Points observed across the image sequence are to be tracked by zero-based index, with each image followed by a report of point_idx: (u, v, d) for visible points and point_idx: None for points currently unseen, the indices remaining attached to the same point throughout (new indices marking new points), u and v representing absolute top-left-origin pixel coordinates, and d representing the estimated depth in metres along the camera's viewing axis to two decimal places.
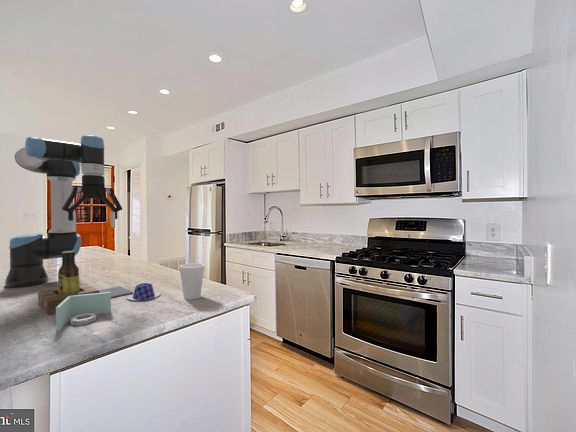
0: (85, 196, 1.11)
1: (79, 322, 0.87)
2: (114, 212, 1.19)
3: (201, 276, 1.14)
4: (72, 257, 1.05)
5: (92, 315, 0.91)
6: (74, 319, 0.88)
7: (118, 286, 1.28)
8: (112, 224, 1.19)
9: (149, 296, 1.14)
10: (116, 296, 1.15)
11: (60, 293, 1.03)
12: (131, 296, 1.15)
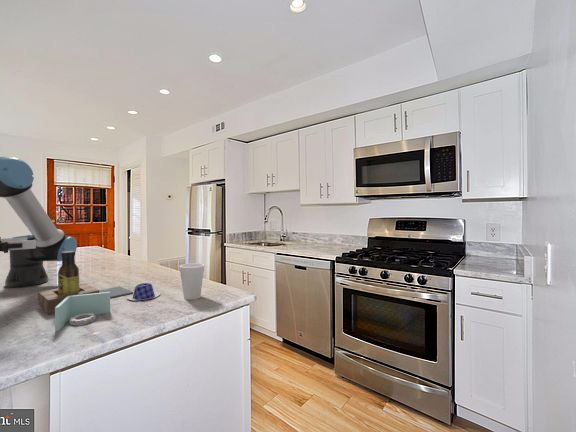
0: None
1: (78, 322, 0.88)
2: (9, 250, 0.88)
3: (201, 276, 1.14)
4: (72, 257, 1.05)
5: (91, 315, 0.92)
6: (73, 319, 0.88)
7: (118, 286, 1.28)
8: None
9: (149, 296, 1.14)
10: (116, 296, 1.15)
11: (60, 293, 1.03)
12: (131, 296, 1.15)
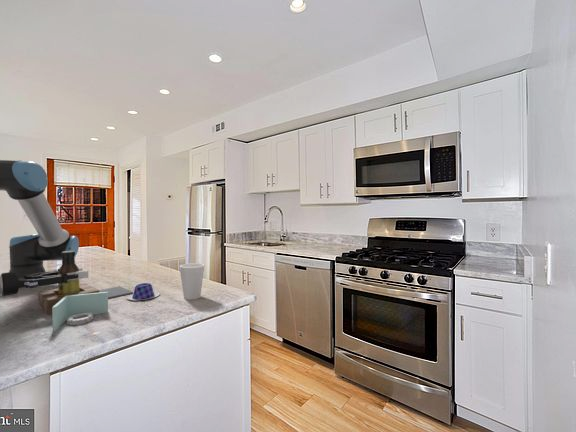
0: None
1: (76, 322, 0.88)
2: (67, 280, 1.03)
3: (201, 276, 1.14)
4: (72, 257, 1.05)
5: (89, 315, 0.92)
6: (71, 319, 0.89)
7: (118, 286, 1.28)
8: None
9: (149, 296, 1.14)
10: (116, 296, 1.15)
11: (60, 293, 1.03)
12: (130, 296, 1.15)
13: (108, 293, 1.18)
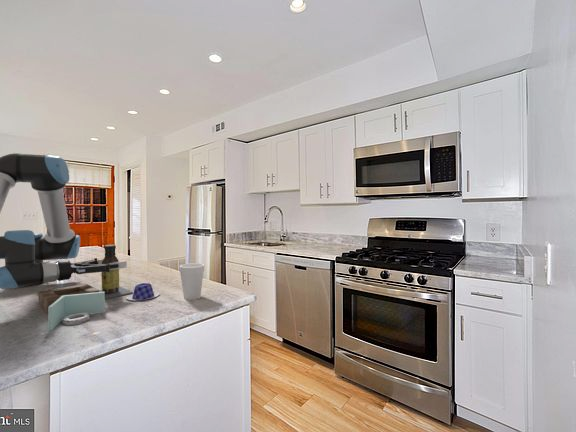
0: None
1: (72, 322, 0.88)
2: (109, 270, 1.14)
3: (201, 276, 1.14)
4: (113, 250, 1.18)
5: (85, 315, 0.92)
6: (67, 319, 0.89)
7: None
8: None
9: (150, 295, 1.15)
10: (116, 296, 1.15)
11: (104, 282, 1.17)
12: (129, 297, 1.14)
13: None
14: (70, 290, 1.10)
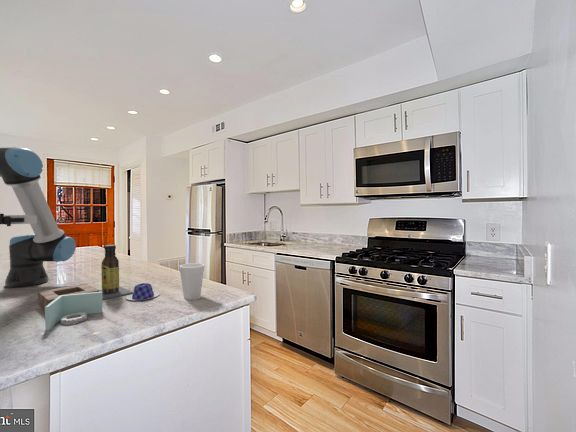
0: None
1: (69, 321, 0.88)
2: None
3: (201, 276, 1.14)
4: (113, 250, 1.19)
5: (82, 314, 0.92)
6: (64, 318, 0.89)
7: None
8: None
9: (151, 295, 1.15)
10: (116, 296, 1.15)
11: (104, 282, 1.17)
12: (129, 297, 1.14)
13: None
14: (70, 290, 1.10)
